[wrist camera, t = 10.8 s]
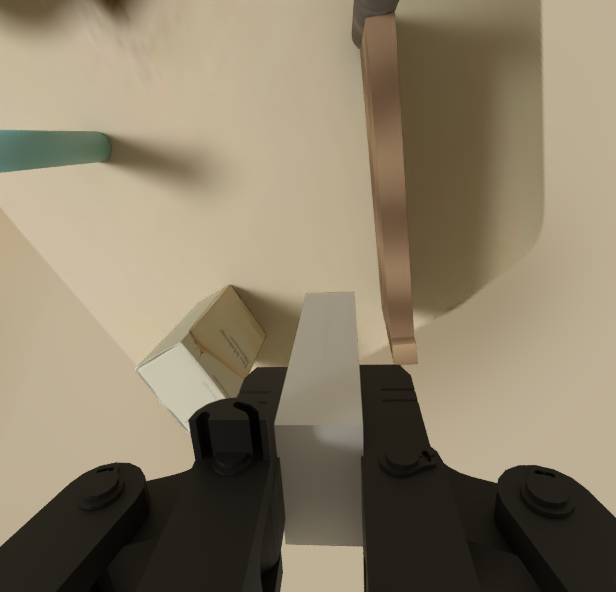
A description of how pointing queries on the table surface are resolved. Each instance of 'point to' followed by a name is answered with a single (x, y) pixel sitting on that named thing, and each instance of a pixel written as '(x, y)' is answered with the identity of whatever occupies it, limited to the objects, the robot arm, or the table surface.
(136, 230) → the table surface
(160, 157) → the table surface
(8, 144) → the post
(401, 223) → the gate
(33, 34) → the table surface
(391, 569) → the robot arm
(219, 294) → the skincare box
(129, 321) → the table surface
